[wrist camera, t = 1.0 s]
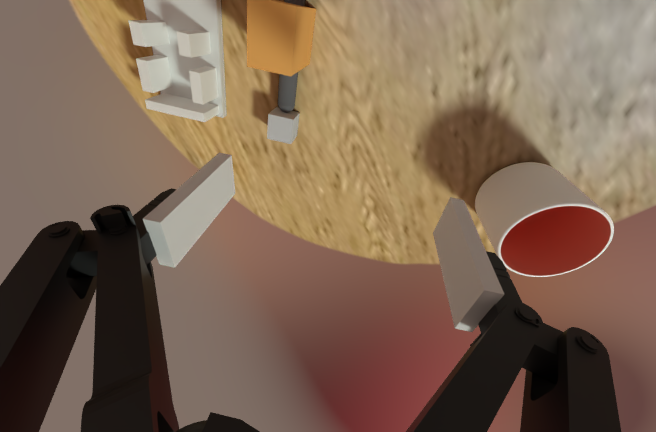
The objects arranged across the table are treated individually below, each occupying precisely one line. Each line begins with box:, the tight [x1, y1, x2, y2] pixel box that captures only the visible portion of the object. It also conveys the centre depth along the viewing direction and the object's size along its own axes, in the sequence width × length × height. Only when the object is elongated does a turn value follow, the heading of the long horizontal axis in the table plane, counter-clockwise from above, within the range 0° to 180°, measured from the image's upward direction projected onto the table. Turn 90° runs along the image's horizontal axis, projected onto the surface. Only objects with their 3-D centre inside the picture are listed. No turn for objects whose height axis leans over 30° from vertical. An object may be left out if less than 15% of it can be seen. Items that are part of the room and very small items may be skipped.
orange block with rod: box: [247, 0, 316, 144], centre depth 27 cm, size 19×4×8 cm, turn 170°
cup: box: [475, 162, 614, 277], centre depth 32 cm, size 10×10×10 cm
